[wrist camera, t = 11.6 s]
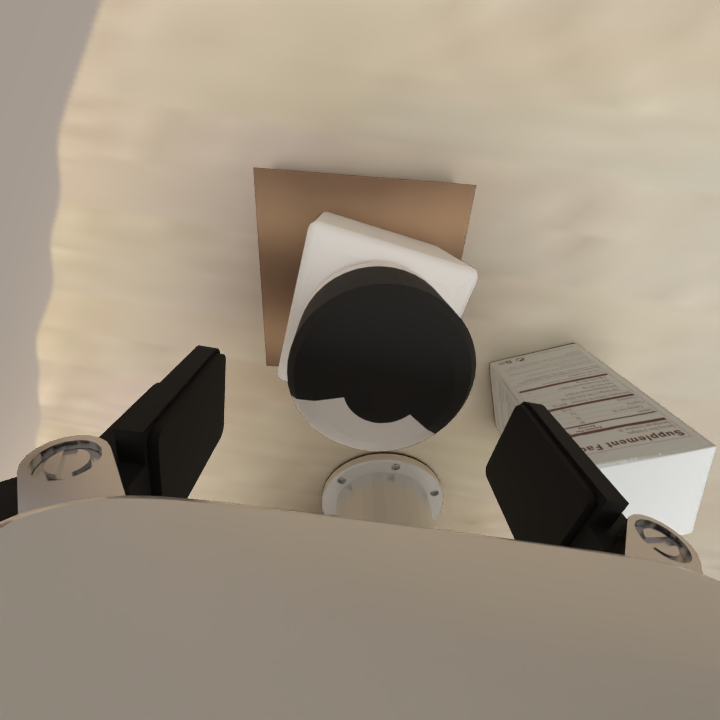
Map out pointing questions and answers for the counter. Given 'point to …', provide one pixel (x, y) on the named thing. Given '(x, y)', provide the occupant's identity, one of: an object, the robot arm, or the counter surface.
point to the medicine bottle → (377, 336)
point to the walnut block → (351, 200)
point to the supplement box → (612, 429)
